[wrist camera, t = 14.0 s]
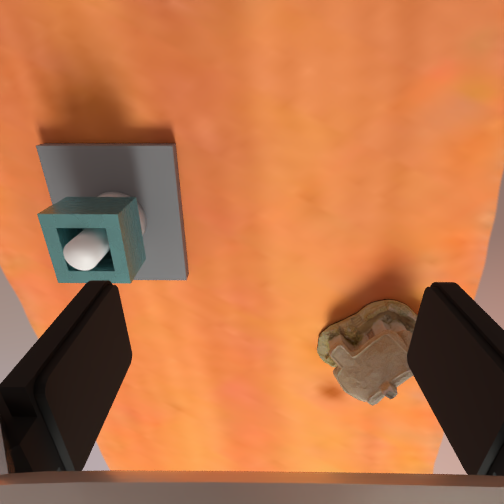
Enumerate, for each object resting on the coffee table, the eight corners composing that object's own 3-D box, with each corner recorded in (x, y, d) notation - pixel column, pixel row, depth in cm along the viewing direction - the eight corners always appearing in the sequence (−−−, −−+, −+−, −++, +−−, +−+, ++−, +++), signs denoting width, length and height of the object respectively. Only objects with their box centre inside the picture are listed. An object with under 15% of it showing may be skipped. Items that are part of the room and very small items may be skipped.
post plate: (44, 143, 35) (-33, 164, 26) (175, 143, 35) (146, 164, 26) (79, 273, 43) (29, 326, 33) (188, 273, 42) (169, 327, 33)
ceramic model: (358, 381, 51) (380, 444, 42) (303, 346, 48) (314, 406, 39) (432, 323, 46) (475, 381, 37) (376, 280, 43) (408, 332, 34)
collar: (66, 196, 33) (37, 214, 29) (136, 197, 33) (117, 214, 29) (82, 258, 36) (58, 282, 32) (146, 258, 36) (130, 283, 32)
